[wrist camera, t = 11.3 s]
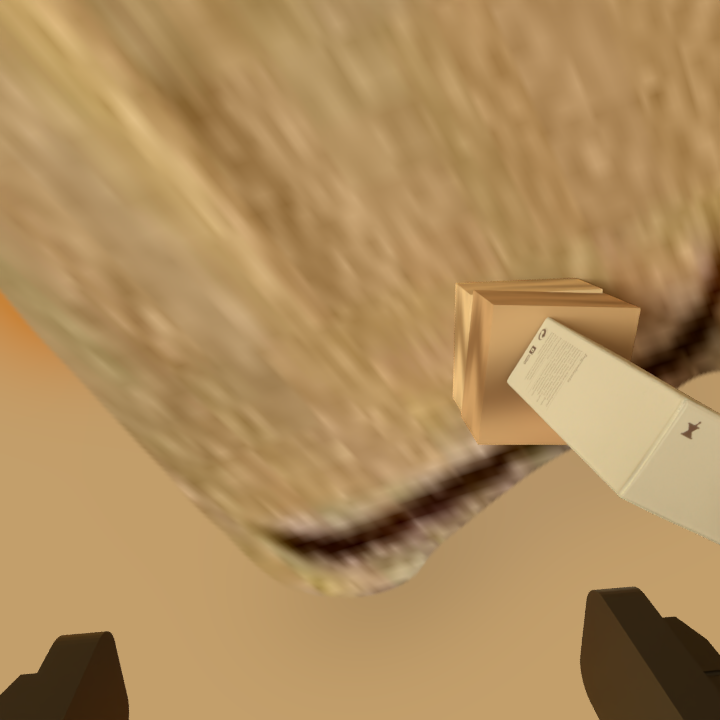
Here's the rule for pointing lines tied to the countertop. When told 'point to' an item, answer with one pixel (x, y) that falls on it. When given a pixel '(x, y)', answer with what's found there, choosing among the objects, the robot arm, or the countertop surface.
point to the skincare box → (626, 426)
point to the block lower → (466, 290)
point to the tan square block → (508, 344)
